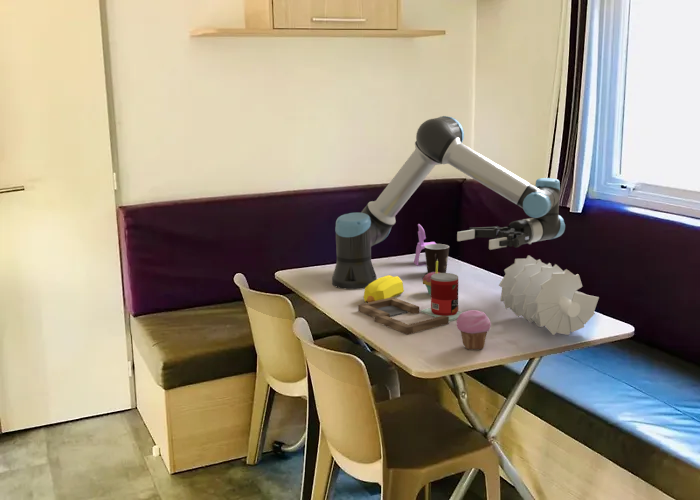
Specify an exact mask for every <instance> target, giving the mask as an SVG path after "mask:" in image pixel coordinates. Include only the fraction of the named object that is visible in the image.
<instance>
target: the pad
mask: <svg viewBox="0 0 700 500" xmlns="http://www.w3.org/2000/svg"><path fill="white" fill-rule="evenodd" d="M463 312H464V311H463ZM463 312H462V311H460V310H458V312H457V313H456V314H455V315H450V316H447V317H449V322H452V321H457V318H458V316H459V315H460V314H461V313H463ZM420 313H422V314H426V315H428V316H430V317H432V318H436V317H440V315H436V314H433V313H432V311H431V307H429V308H428V307H427V308H424V309H421V310H420Z"/></svg>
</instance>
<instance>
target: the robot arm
mask: <svg viewBox="0 0 700 500" xmlns="http://www.w3.org/2000/svg"><path fill="white" fill-rule="evenodd" d="M464 131H465V130H464V128H463V125H462V124H461V122H459V121H458V120H457V119H456V118H454V117H453V116H446V115H443V116H439V117H435V118H430V119H427V120H425V121H423V122H422V124H420V125H419V127H418V128H417V131H416V134H415V135H416V136H415V138H416V141H414V146H415V149H414V150H413V152H412V154H410V156H409V157H408V158H407V160H406V161H405V162H404V163H403V165H402V166H401V167H400V169H399V170H397V171H398V172H397V173H396V174H395V175H394V176H393V178H392V179H391V180H390V182H389V183H388V184H387V186H386V187H385V188H384V189H383V190H382V192H381V193H380V194H379V196H378V197H377V198H376V200H374V201H373V200H372V201H369V202H368V203H367V204H366V206H365V207H364V208H363V209H362V210H361V212H349V213H344V214H342V215H340V216H338V217H337V219H336V221H335V227H334V228H335V229H334V230H335V245H336V250H335V251H336V264H335V267H334V271H333V274H332V277H331V279H332V280H331V284H332V286H334V287H335V286H337V287H336V288H338V287H340V288H339V289H344V288H346V290H360V289H361V290H362V289H365V287H367V286H368V285H369V284H370V283H372V282H373V281H375V280H377V279H378V278H377V274H376V271H375V269H374V265H373V263H372V262H373V261H372V247H373V246H375V245H377V244H380V243H381V242H383V241H384V240H386V239H387V237H388V236H389V234H390V232H391V230H392V227H393V226H394V225H395V224H396V222H397V221H396V215H398V213H399V212H400V211H401V210H402V208H403V207H404V205H405V204H406V203H407V202H408V200H410V198H411V196H412V195H413V194H414V193H415V192H416V191H417V189H418V188H419V187H420V186H421V184H422V183H423V182H424V181H425V179H426V178H427V177H428V175H429V174H430V173H431V172H432V170H433V169H434V168H435V166H437V165H438V166H439V165H450V166H451V167H452V168H455V169H456V170H458V171H460V172H462V173H463V174H465V175H467V177H470V178H472V179H473V180H475V181H476V182H478V183H480V184H482V185H483V186H485V187H486V188H487V189H490V190H492V191H493V192H495V193H496V194H498V195H500V196H502V197H503V198H505V199H507V200H508V201H509V202H511V203H513V204H515V205H517V206H518V207H520V208H521V209H523V211H524V213H525V215H526V216H527V217H529V218H523V219H519V220H514V221H511V222H510V223H509V224H508V225H507V226H503V227H500V226H498V225H496V226H482V227H481V226H480V227H476V226H475V227H473V226H471V227H469V228H468V229H467V230H461V231H457V234H456V241H457V242H461V241H468V240H474V239H476V238H483V239H484V238H489V240H488V249H489V250H490V251H491V250H496V249H502V248H508V247H509V248H510V247H513V248H515V249H517V248H520V247H521V246H522V245H526V244H528V245H532V243H536V242H542V241H546V240H554V239H557V238H559V237H562V235H563V234H564V233H565V230H566V224H565V220H564V218H563V217H562V216H561V215H560V214H559V209H560V195H561V194H560V192H561V184H560V183H561V182H560V180H559V179H557V178H554V177H553V178H550V177H541V178H538V179H536V180H535V185H534V184H532V183H530V182H528V181H527V180H526V179H524V178H521V177H520V176H518V175H517V174H515V173H514V172H512V171H510V170H508V169H507V168H505V167H503V166H502V165H500V164H498V163H496V162H494V161H493V160H492V159H490V158H488V157H486V156H484V155H483V154H481V153H479V152H478V151H477V150H475V149H473V148H471V147H469V146H468V145H466V144H464V143H463V141H464V139H465V133H464ZM490 238H491V239H490Z"/></svg>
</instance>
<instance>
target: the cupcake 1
mask: <svg viewBox="0 0 700 500" xmlns="http://www.w3.org/2000/svg"><path fill="white" fill-rule="evenodd" d="M437 260H438V259H437ZM437 273H439V272H438V261H436V272H431V273H428V272H427V274H425V275H424V276H423V277H422V285H425V287H426V289H427V292H428V295H430V296H431V276H432V275H433V274H437Z"/></svg>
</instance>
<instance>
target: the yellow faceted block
mask: <svg viewBox="0 0 700 500" xmlns="http://www.w3.org/2000/svg"><path fill="white" fill-rule="evenodd" d="M404 291H405V289H404V282H403V280H402V279H401V278H400V277H399V276H397V275H396V276H392V275H390V274H389V275H385V276H381V277H378V278H377V280H375V281H373V282H372V283H370V284H369V285H368V286H367V287H365V288H364V293H363V299H364V303H367V302H373V301H377V300H382V299H386V298H390V297H394V298H396V297H398V296H401V295H402V294H403V292H404Z"/></svg>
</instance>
